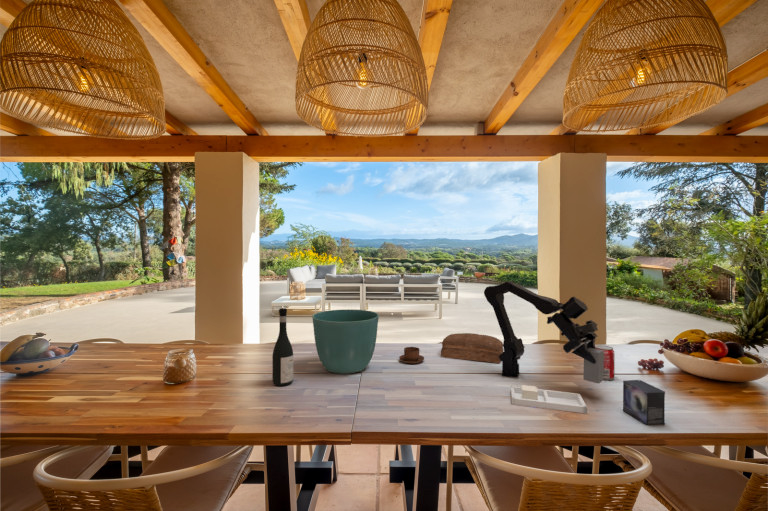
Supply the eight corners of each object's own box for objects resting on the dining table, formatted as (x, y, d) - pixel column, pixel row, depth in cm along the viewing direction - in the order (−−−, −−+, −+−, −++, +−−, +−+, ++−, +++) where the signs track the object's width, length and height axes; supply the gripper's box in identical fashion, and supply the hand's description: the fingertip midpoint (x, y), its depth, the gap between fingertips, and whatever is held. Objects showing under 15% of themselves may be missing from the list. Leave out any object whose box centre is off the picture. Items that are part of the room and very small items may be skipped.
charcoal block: (583, 379, 135) (584, 349, 135) (588, 376, 139) (589, 347, 139) (598, 383, 132) (599, 352, 132) (603, 380, 135) (603, 350, 135)
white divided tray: (511, 407, 127) (511, 398, 127) (511, 394, 138) (511, 386, 138) (586, 416, 120) (587, 407, 120) (579, 402, 131) (579, 393, 131)
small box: (621, 410, 124) (621, 379, 124) (639, 410, 125) (639, 379, 125) (646, 425, 114) (646, 391, 114) (665, 424, 114) (666, 391, 114)
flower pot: (363, 382, 149) (364, 323, 149) (299, 374, 159) (299, 318, 158) (387, 361, 178) (387, 311, 177) (331, 355, 187) (331, 308, 187)
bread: (500, 365, 174) (501, 340, 174) (439, 357, 185) (439, 334, 185) (504, 355, 189) (504, 333, 189) (447, 349, 201) (447, 328, 201)
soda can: (617, 381, 152) (617, 349, 152) (598, 380, 153) (598, 348, 153) (610, 375, 159) (610, 345, 159) (592, 374, 160) (592, 344, 160)
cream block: (522, 401, 129) (522, 390, 129) (521, 396, 134) (521, 385, 134) (537, 403, 127) (537, 391, 127) (536, 397, 132) (536, 386, 132)
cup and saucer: (395, 359, 181) (395, 347, 181) (416, 356, 186) (416, 344, 186) (406, 366, 170) (406, 353, 170) (428, 363, 175) (428, 350, 175)
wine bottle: (297, 381, 150) (297, 308, 150) (284, 388, 143) (284, 310, 143) (281, 378, 154) (281, 306, 153) (268, 384, 146) (268, 309, 146)
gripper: (572, 316, 132) (606, 354, 124) (592, 310, 144) (624, 344, 136) (550, 334, 138) (581, 371, 130) (570, 327, 150) (600, 361, 142)
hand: (597, 361), depth 134 cm, fingers closed on charcoal block, 5 cm apart
